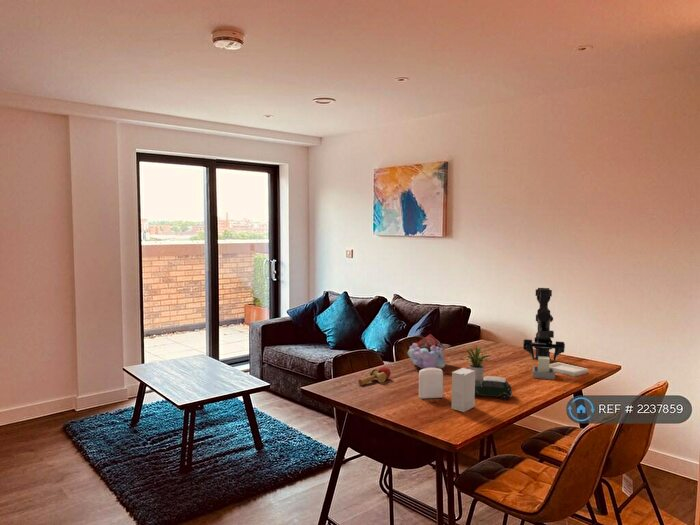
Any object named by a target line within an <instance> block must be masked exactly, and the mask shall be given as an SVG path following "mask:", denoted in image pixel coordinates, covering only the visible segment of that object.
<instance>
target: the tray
mask: <svg viewBox="0 0 700 525" xmlns="http://www.w3.org/2000/svg"><path fill="white" fill-rule="evenodd" d="M549 368H554V372H555V373H558V374H561V375H565V376H569V377H573V378H575V377H579V376H581V375H585V374H589V369H588V368H584V367H581V366H577V365H572V364H567V363H564V362H557V361H556V362H553V363H550V364H549Z"/></svg>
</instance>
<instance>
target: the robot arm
mask: <svg viewBox="0 0 700 525" xmlns="http://www.w3.org/2000/svg"><path fill="white" fill-rule="evenodd" d="M552 293H553V291H552V289H550V287H538V288H537V289H535V297H536V301H537V302H538V304H539V306H538V307H539V308H538V309H537V313H536V314H535V322H536V323H537V332H536V333H535V337H534V342H533V340H532V339H523V343H522V344H523V348H522V349H523V350H524V351H526V352H528V353H529V355H530V357H531V359H532V361H535V360H537V361H538V356H544V357H549V359H550V361H551V360H552V359H551V358H550V357H551V353H550V350H553V349H554V354H553V363H556V359H557V357H558V356H559V355H561V354H562V353H563V354H564V353H565V347H566V344H565V341H558V340H557V341H555V343H553V340H552V339H554V337H555V336H554V335H555V334H554V332H555V331H554V330H550V327H551V323H552V322H553V321H554V317H553V316H552V314H551V310H550V309H549V302H550V301H551V297H553V294H552ZM534 349H535V355H534Z"/></svg>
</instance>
